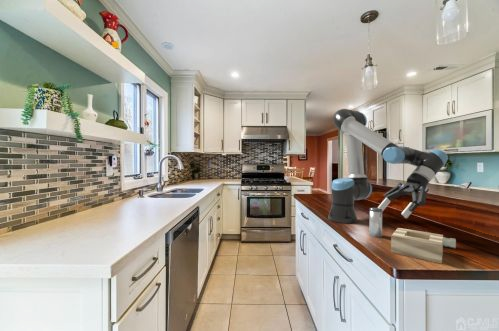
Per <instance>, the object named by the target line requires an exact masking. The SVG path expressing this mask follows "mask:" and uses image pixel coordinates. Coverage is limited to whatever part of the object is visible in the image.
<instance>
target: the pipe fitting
mask: <svg viewBox="0 0 499 331" xmlns="http://www.w3.org/2000/svg"><path fill="white" fill-rule="evenodd" d="M443 247H446V248H451V249H456V248H457V240H456V238H452V237H449V238H448V237H445V236H443Z"/></svg>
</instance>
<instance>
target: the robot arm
mask: <svg viewBox="0 0 499 331" xmlns="http://www.w3.org/2000/svg"><path fill="white" fill-rule="evenodd" d="M332 123H333V126H334V127H336V128H337V129H339V130H340V131H341V132H342V134H343V135H344V136H345V145H346V158H347V172H348V173H347V174H348V175H347V176H346V178H345V177H343V178H336V179H334V180H332V183H331V206H330V210H329V213H328V217H327V218H328V220H329V221H330V222H335V223H342V224H354V223H357V222H358V215H357V213H356V210H355V207H354V206H355V201H361V200H366V199H368V198H369V197H370V196H371V194H372V191H373V186H372V184H371V183H370V182H369V181H368V176H367V175H366V174H365V168H364V154H363V144H364V145H365V146H367V147H368V148H370V149H371V150H373V151H374V152H376V153H378V154H379V155H380V156H381V157H382V158H383V160H384V161H385V162H386V163H388V164H392V165H393V164H394V165H396V164H397V165H399V164H403V165H404V164H405V165H412V166H414V167H416V168H415V169H414V170H413V171H412V173H410V175H409V176H408V177H407V179H406V183H404V184H403V183H402V182H399V183H398V184H397V185H396V186H394V187H393V188H392V189H389V191H386V193H384V194H383V197H384V199H383V200H382V201H381V203H380V204H379V205H378V206H377V208H380V209H382V213H383V212H384V211H385V209H387V207H388V206H389V204H390V203H391V201H392V200H394V199H396V198H399V197H401V196H405V195H410V196H412V198H411V199H412V202H409V204H407V206H406V207H405V208H404V210H403V211H402V212H401V213H400V214H401V216H403V217H404V219H408V218H409V217H410V215H411V214H412V213H413V212H415V210H416V209H417V208H419V207H425V204H426V200H427V194H428V192H429V188H428V187H427V186H428V185H429V183H430V182H431V181H432V180H433V179H434V178H435V176H437V174H438V173H439V171H440V170H441V169H442V168H443V167H444V166H445V164H446V163H447V161H448V160H449V157H448V154H447V153H446V152H444V151H443V150H441V149H437V148H436V149H431V150H430V151H429V152H426V151H422V150H417V149H415V148H412V147H409V146H403V145H402V146H398V145H397V144H395V143H393V141H391V140H389V139H387V138H385V137H384V136H382V135H381V134H379V133H377V132H376V131H374V130H372V129H371V128H369V127H367V123H368V119H367V116H366V115H365V114H364V113H363V112H361V111H358V110H352V109H349V108H342V109H339V110H337V111H336V112H335V113H334V115H333V116H332Z"/></svg>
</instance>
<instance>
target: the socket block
mask: <svg viewBox="0 0 499 331" xmlns="http://www.w3.org/2000/svg"><path fill="white" fill-rule="evenodd" d="M443 237H444V234H439V233H432V232H429V231H428V232H427V231H421V230H414V229H409V228H408V229H407V228H401V227H397V228H396V230H394V232H393V233H392V234H391V236H390V238H391V240H390V243H391V244H390V253H392V254H398V255H401V256H407V257H411V258H415V259H419V260H424V261H428V262H433V263H436V264H443V254H444V253H443V252H444V246H443Z"/></svg>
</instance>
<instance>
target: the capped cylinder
mask: <svg viewBox="0 0 499 331" xmlns="http://www.w3.org/2000/svg"><path fill="white" fill-rule="evenodd" d="M368 210H369V211H368V216H369V217H368V219H369V220H368V227H369V229H368V235H369V236H370V237H372V238H382V237H383V212H382V209H380V208H378V207H369V208H368Z"/></svg>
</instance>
